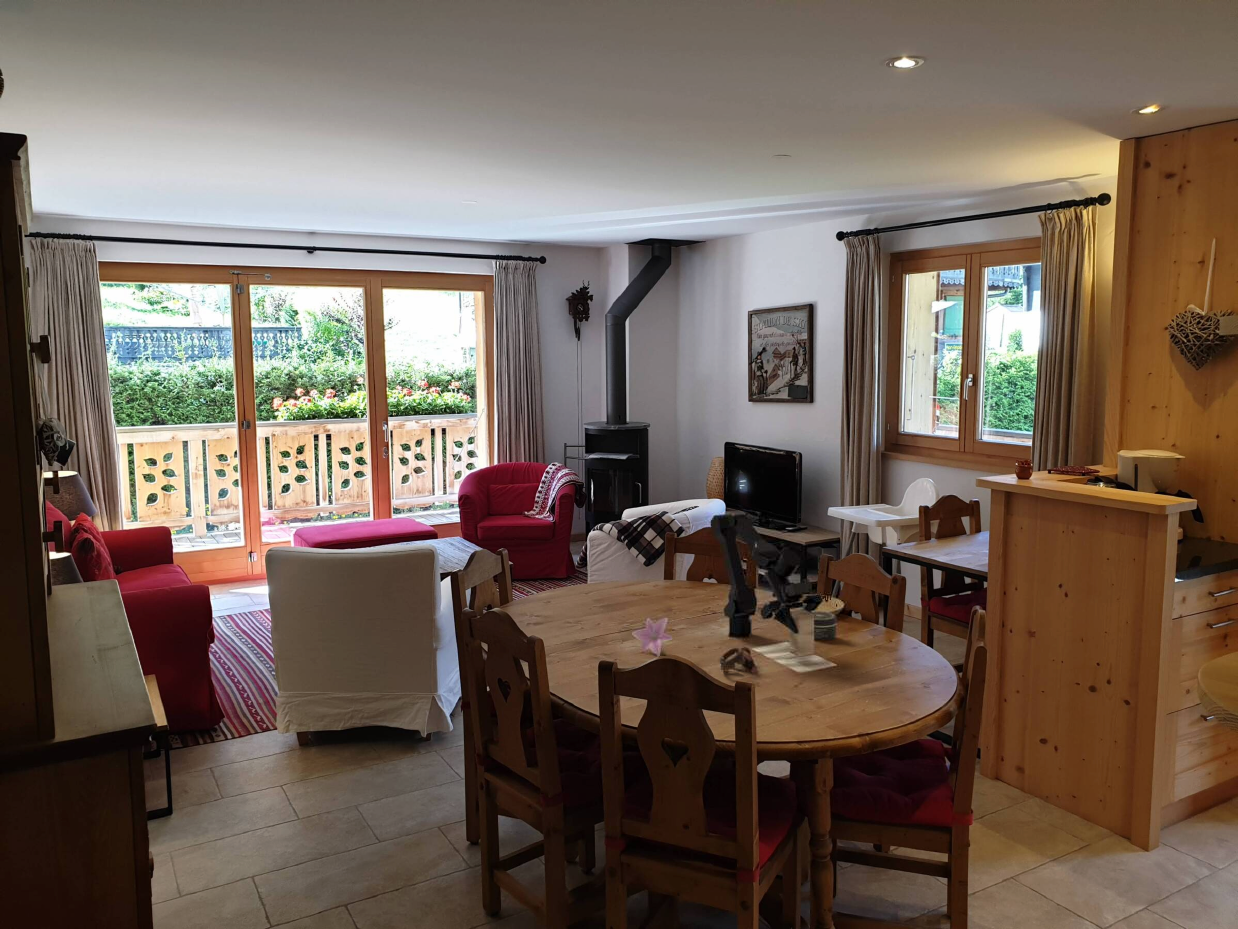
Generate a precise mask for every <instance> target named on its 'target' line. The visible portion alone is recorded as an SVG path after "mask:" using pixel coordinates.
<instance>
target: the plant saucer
mask: <svg viewBox="0 0 1238 929" xmlns="http://www.w3.org/2000/svg"><path fill="white" fill-rule="evenodd" d="M802 595H803V597H802V598H800V599H799V600H800V601H802V600H804V599H805V598H806V597H807V596H808V595H809V594H808V593H804V594H802ZM825 596H826V600H827V595H825ZM828 597H829V598H828V602H826V601H825V598H824V599H823V602H822V603H821V604H820V605H819V606H818V607H817V608H818V609H817V610H816V611H823V612H829V613H832V614H834V615H835V616H837V615H838V614H839V613H841V611H842V610H844V609H843V608H844V606H845V603H844V602H843V601H842V600H841V599H839V598H835V597H832V596H828ZM830 597H831V600H830ZM775 600H777V598H775V599H774V600H773V601H775ZM836 604H837V607H836ZM796 609H798V610H799V608H796ZM791 610H792V609H791ZM791 610H790V611H791ZM814 611H815V610H814ZM811 612H813V611H811Z"/></svg>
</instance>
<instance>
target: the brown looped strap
mask: <svg viewBox="0 0 1238 929" xmlns="http://www.w3.org/2000/svg"><path fill="white" fill-rule="evenodd" d="M735 654H736V655H735ZM733 655H735V656H733ZM732 656H733V657H732ZM729 657H732V658H730V659H728V658H729ZM727 659H728V660H727ZM718 660H719V663H720V670H722V671H723V672H726V671H728V670H729V671H730V670H733V671H736V664H737V665H741V666H746V667H748V666H749V667H750V668H751V670H750V672H751V673H752V674H753V675H754V674H755V673H757V668H756V667H757V666H756V663H755V662H754V659H753V657H752V654H751V650H750V649H749V647H747V646H743V647H739V646H735V647H733V648H731V649H729V650H727V651H726V652H724V653H723V654H722V656H721V657H720V659H718Z"/></svg>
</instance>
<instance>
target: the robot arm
mask: <svg viewBox="0 0 1238 929" xmlns="http://www.w3.org/2000/svg"><path fill="white" fill-rule="evenodd" d="M709 524H710V528H711V531H712V533H713V536H714V537H715V538H716V539H717V541H719V543H720V545H721V549H722V554H723V557H724V558H723V559H724V561H725V563H724V564H725V566H726V570H727V571H726V572H727V575H728V579H729V583H730V589H729V592H728V595H727V598H728V599H727V600H728V603H726V605H725V607H724V608H723V613H724V616H725V617H727V618H728V619H729V620H728V622H729V625H728V626H729V627H728V628H729V632H728V635H727V636H728V637H731V638H732V637H733V638H735V637H736V638H749V637H750V636H751V634H752V632H753V626H752V624H753V623H752V622H753V620H752V619H751V616H755V615H756V610H757V606H758V598H757V595H756V590H755V588H754V587H753V586H749V584H748V583H747V580H746V576H745V573H744V572H745V571H744V568H743V563H742V559H741V555H740V551H739V547H738V543H737V537H738V535H739V536H740V538H741V539H742V540H743V541H744V543H745V545H747V547H748V548H749V549H750V551H751V559H752V560H753V563H754V564H755V566H756V567H757V568H758V569H759V570H763V569H767V571H765V572H764V575H763V579H762V580H763V582H768V584H769V586H770V587H771V590H772V591H773V593H772V595H771V596H772V597H773V598H774V600H775V601H774V600H771V601H770V600H769V601H766V603H765V604H764V606H763V607H762V608H761V609H760V615H761V617H762V619H763V620H768V619H772V617H773V615H774V617H773V619H772V620H774V621H777V622H778V623H780V624H782V625H783V626H785V627H786V628H787V629H790V630H791V631H793V632H794V633H795V634H797V633H798V630H797V627H796V625H795V623H794V621H793V619H792V617H791V615H790V609H796V608H799V610H802V609H803V610H806V611H808V612H811V611H814V610H816V609H817V607H818V606H819V605H820V604H821V603H822V602H823V599H822V597H821V594H820V593H813V594H810V593H809V591H811V590H812V589H813V588H812V587H813V586H812V583H811V581H810V580H809V579H808V578H804V579H801V580H800V582H796V583H795V582H794V581H793V582H791V580H790V578H789V577H791V576H792V575H793V574H794V573H795V571H796V570H797V569H798V567H799V566H800V565H801V563H802V559H801V556H800V555H799V554H798V553H796V552H795V551H793V550H791V549H790V547H783V548H782V549H781V550H779V549H778V548H777V547H776V546H775V545H773V544H772V543H770V542H767V541H766V540H765V539H763V538H762V536H761V535H760V534H759V532H758V531H757V530H756V529H755V528H756V527H754V525H752V523H751V522H750V521H749V519H748V516H747V514H745V513H743V512H742V513H741V512H740V513H724V514H717V515H713V516H712V518H711V520H710V523H709ZM808 593H809V594H808ZM804 594H808V596H807V597H806V598H805V599H804V600H802V601H800V600H799V599H800V598H802V597H803V595H804ZM776 599H777V600H776Z"/></svg>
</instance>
